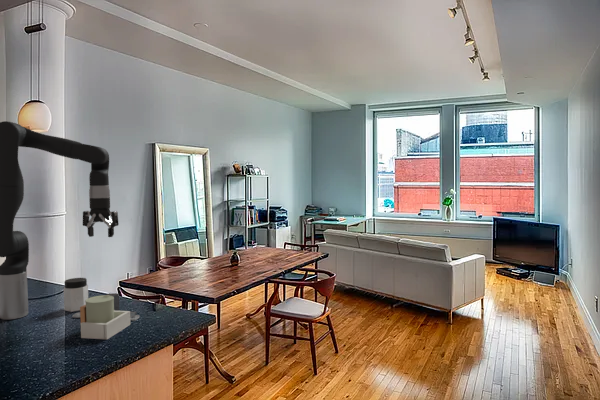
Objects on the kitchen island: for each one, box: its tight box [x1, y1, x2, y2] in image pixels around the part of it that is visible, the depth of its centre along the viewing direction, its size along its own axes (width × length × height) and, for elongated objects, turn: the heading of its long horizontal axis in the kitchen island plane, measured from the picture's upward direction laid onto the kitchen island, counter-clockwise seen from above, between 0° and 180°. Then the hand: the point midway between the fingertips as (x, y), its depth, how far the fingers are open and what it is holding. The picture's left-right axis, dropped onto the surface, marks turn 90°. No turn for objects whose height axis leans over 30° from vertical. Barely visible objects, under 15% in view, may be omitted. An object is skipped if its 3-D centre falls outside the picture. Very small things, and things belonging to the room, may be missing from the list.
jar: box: [63, 277, 89, 313], centre depth 176 cm, size 9×8×12 cm
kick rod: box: [79, 292, 138, 324], centre depth 157 cm, size 12×18×8 cm
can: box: [85, 294, 114, 323], centre depth 150 cm, size 9×9×12 cm
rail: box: [72, 311, 140, 322], centre depth 164 cm, size 26×3×1 cm, turn 81°
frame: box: [80, 310, 131, 340], centre depth 150 cm, size 10×14×5 cm, turn 171°
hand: (100, 236), depth 173 cm, fingers open, 8 cm apart
